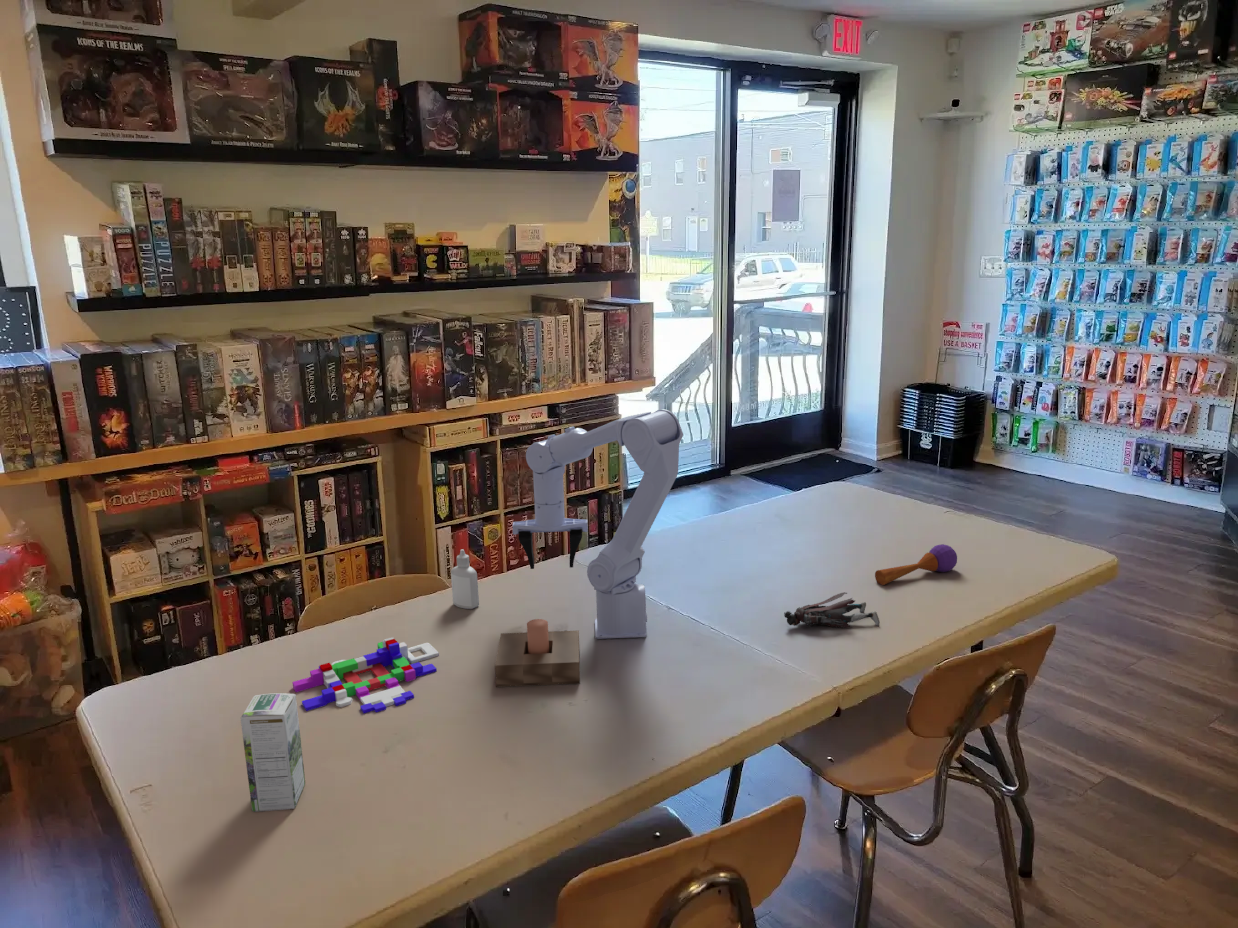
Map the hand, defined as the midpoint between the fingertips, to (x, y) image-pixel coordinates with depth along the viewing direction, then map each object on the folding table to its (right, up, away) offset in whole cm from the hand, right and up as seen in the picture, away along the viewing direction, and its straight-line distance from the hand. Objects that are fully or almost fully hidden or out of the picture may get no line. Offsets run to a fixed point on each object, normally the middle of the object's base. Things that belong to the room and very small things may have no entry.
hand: (551, 566), depth 178 cm
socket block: (-1, -15, -20) cm, 26 cm away
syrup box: (-33, -26, -55) cm, 69 cm away
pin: (-1, -15, -21) cm, 25 cm away
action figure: (+53, -11, -5) cm, 55 cm away
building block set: (-28, -18, -23) cm, 41 cm away
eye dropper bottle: (-18, -9, +6) cm, 21 cm away
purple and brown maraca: (+77, -4, +16) cm, 79 cm away
